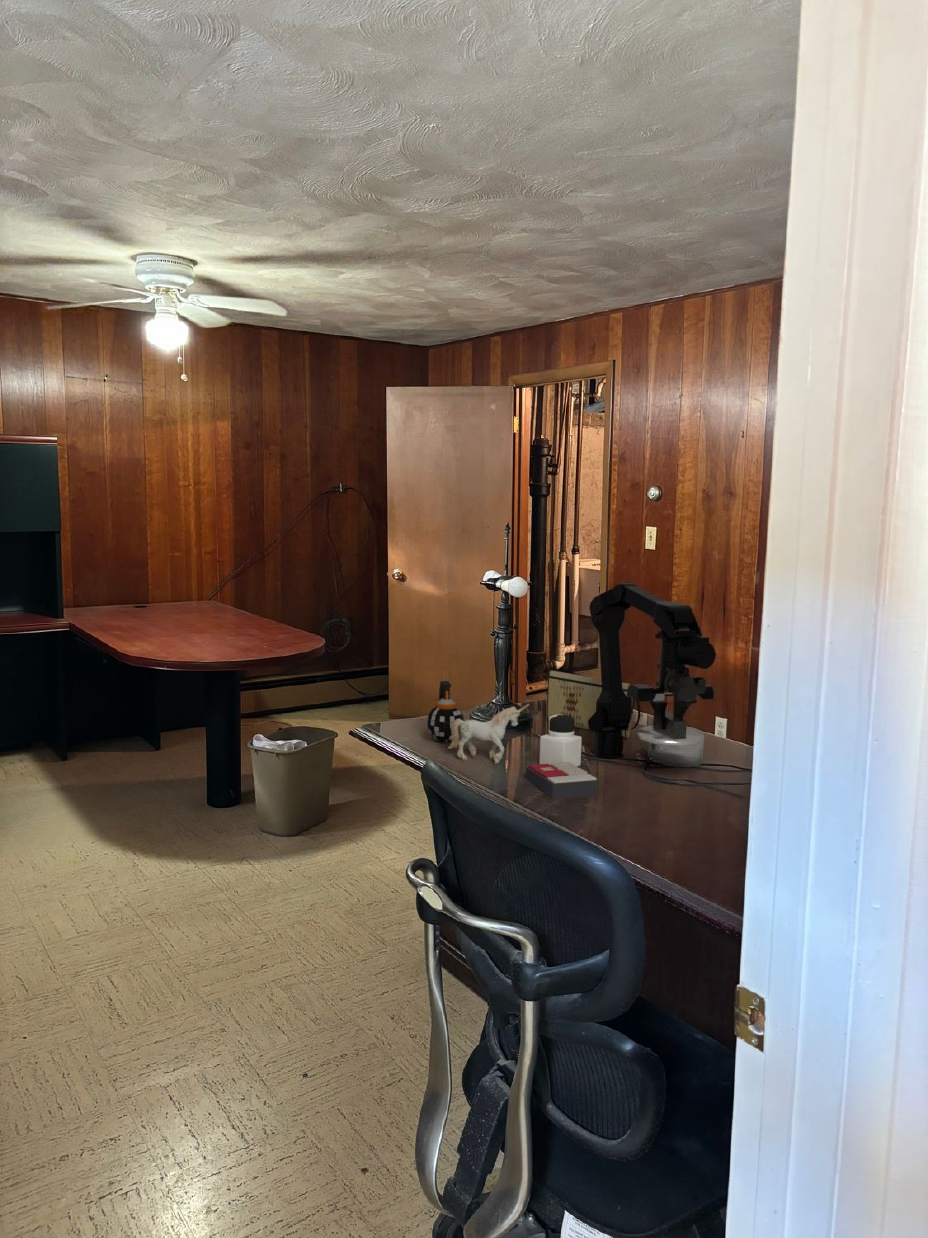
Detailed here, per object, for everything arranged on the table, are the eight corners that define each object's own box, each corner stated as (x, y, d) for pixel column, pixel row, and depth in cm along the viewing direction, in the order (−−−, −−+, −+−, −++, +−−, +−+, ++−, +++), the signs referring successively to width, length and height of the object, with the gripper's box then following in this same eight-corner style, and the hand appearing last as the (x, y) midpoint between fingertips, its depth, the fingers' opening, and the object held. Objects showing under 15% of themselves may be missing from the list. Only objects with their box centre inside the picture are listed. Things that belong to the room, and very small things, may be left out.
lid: (712, 744, 195) (714, 722, 195) (654, 747, 192) (655, 724, 191) (682, 728, 209) (683, 707, 208) (626, 730, 205) (628, 709, 205)
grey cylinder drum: (662, 768, 211) (664, 739, 210) (639, 753, 223) (640, 726, 222) (712, 766, 214) (714, 737, 213) (686, 751, 226) (687, 724, 225)
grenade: (423, 734, 235) (425, 679, 233) (459, 734, 237) (460, 678, 235) (429, 746, 224) (430, 688, 222) (466, 745, 226) (468, 687, 224)
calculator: (570, 760, 204) (600, 776, 190) (569, 778, 204) (599, 796, 190) (525, 763, 201) (553, 780, 186) (525, 782, 201) (552, 800, 187)
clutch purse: (644, 736, 240) (647, 681, 238) (631, 741, 235) (634, 685, 233) (552, 717, 259) (554, 666, 257) (538, 721, 253) (540, 669, 251)
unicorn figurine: (529, 766, 210) (531, 710, 208) (446, 764, 210) (448, 708, 208) (527, 757, 217) (529, 703, 215) (447, 755, 217) (448, 701, 215)
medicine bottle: (581, 765, 211) (583, 716, 210) (562, 772, 206) (565, 721, 205) (556, 759, 216) (558, 711, 215) (538, 765, 211) (540, 715, 209)
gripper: (650, 668, 188) (646, 740, 190) (730, 666, 193) (725, 737, 195) (628, 659, 199) (625, 727, 201) (704, 657, 203) (699, 724, 205)
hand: (669, 729), depth 200 cm, fingers closed on lid, 3 cm apart
